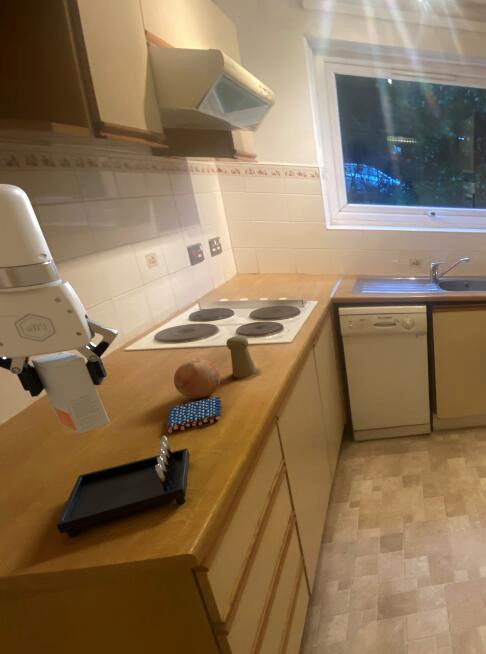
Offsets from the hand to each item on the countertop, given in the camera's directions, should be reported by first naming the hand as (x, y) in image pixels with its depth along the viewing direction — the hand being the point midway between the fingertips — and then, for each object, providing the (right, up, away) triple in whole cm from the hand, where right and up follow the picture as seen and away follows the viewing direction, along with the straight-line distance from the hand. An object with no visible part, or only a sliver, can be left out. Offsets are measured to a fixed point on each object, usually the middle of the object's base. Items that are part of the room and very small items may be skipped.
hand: (69, 386), depth 69 cm
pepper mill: (-7, -1, +56) cm, 57 cm away
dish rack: (+3, -20, +9) cm, 22 cm away
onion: (-10, -6, +44) cm, 45 cm away
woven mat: (-4, -10, +34) cm, 36 cm away
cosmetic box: (0, -7, +3) cm, 7 cm away
